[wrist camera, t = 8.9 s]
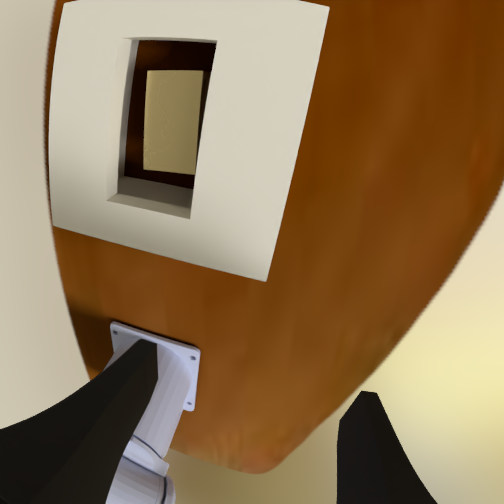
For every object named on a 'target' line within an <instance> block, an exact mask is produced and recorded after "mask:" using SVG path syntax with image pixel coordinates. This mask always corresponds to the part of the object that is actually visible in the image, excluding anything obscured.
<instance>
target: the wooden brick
mask: <svg viewBox="0 0 504 504" xmlns="http://www.w3.org/2000/svg"><path fill="white" fill-rule="evenodd" d="M210 77H211V72H207V71H192V70H159V71H148V72H147V86H146V101H145V122H144V169H146V170H156V171H166V172H175V173H184V174H192V175H196V167H197V160H198V153H199V146H200V139H201V132H202V125H203V119H204V113H205V107H206V101H207V95H208V89H209V83H210Z"/></svg>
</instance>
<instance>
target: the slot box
mask: <svg viewBox="0 0 504 504" xmlns="http://www.w3.org/2000/svg"><path fill="white" fill-rule="evenodd" d="M328 12H329V7H327V6H322V5H318V4H313V3H309V2H304V1H298V0H78V1H73V2H68V3H64V7H63V12H62V16H61V21H60V27H59V32H58V38H57V44H56V51H55V58H54V66H53V75H52V85H51V98H50V115H49V180H50V198H51V210H52V221H53V226H56V227H60V228H63V229H67V230H70V231H74V232H77V233H81V234H85V235H88V236H92V237H95V238H99V239H103V240H106V241H110V242H113V243H117V244H121V245H125V246H128V247H132V248H136V249H139V250H143V251H147V252H151V253H154V254H158V255H162V256H166V257H170V258H173V259H177V260H181V261H185V262H189V263H193V264H197V265H201V266H204V267H208V268H212V269H216V270H220V271H224V272H228V273H232V274H236V275H240V276H244V277H248V278H253V279H257V280H261V281H265V282H266V280H267V276H268V272H269V268H270V264H271V260H272V256H273V252H274V248H275V244H276V240H277V236H278V232H279V228H280V224H281V220H282V216H283V212H284V207H285V203H286V199H287V195H288V191H289V187H290V182H291V178H292V174H293V170H294V166H295V161H296V157H297V153H298V148H299V144H300V140H301V136H302V131H303V127H304V122H305V118H306V114H307V109H308V105H309V100H310V96H311V91H312V87H313V82H314V78H315V73H316V69H317V64H318V59H319V55H320V50H321V45H322V41H323V36H324V31H325V26H326V22H327V17H328ZM139 40H173V41H192V42H206V43H217V46H216V51H215V56H214V61H213V66H212V72H211V77H210V83H209V89H208V95H207V101H206V107H205V113H204V119H203V125H202V132H201V139H200V146H199V153H198V160H197V167H196V175H195V183H194V189H189V188H184V187H179V186H174V185H169V184H164V183H159V182H154V181H148V180H143V179H138V178H132V177H127V176H124V169H125V152H126V138H127V126H128V116H129V106H130V97H131V89H132V82H133V74H134V68H135V61H136V55H137V49H138V43H139Z"/></svg>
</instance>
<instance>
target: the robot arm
mask: <svg viewBox="0 0 504 504" xmlns="http://www.w3.org/2000/svg"><path fill="white" fill-rule="evenodd" d="M110 331H111V337H112V344H113V350H114V354H113V356H112V357H111V359H110V361H109V362H108V364H107V365H106V367H105V368H104V370H103V371H102V372H101V373H100V374H99V375H97V376H96V377H95V378H94V379H92V380H91V381H90V382H88V383H87V384H86V385H84V386H83V387H81V388H80V389H79V390H77V391H76V392H74V393H73V394H72V395H70V396H68V397H67V398H65V399H64V400H62V401H60V402H59V403H57V404H55V405H54V406H52V407H50V408H48V409H46V410H45V411H42V412H41V413H39V414H37V415H35V416H33V417H30V418H28V419H26V420H23V421H21V422H19V423H16V424H13V425H11V426H8V427H6V428H3V429H0V504H175V497H176V495H175V489H174V484H173V481H172V479H171V477H170V476H168V475H167V474H166V472H167V470H168V467H169V464H168V463H167V462H165V461H163V458H164V457H165V455H166V453H167V451H168V449H169V446H170V443H171V440H172V438H173V435H174V432H175V430H176V427H177V424H178V422H179V419H180V416H181V414H182V411H183V409H184V410H188V411H193V410H194V408H195V398H196V388H197V379H198V370H199V360H200V350H199V349H198V348H196V347H193V346H190V345H186V344H183V343H180V342H176V341H173V340H170V339H166V338H163V337H160V336H157V335H154V334H151V333H148V332H144V331H141V330H138V329H135V328H132V327H130V326H127V325H124V324H121V323H118V322H112V323H111V324H110ZM193 356H194V357H193ZM337 504H437V502H436V501H435V500H434V499H433V497H432V496H431V495H430V493H429V492H428V490H427V489H426V487H425V486H424V484H423V483H422V481H421V480H420V478H419V477H418V475H417V474H416V472H415V470H414V469H413V467H412V465H411V463H410V461H409V459H408V458H407V456H406V454H405V452H404V450H403V448H402V446H401V444H400V442H399V440H398V438H397V436H396V433H395V431H394V429H393V427H392V425H391V423H390V421H389V419H388V416H387V414H386V412H385V410H384V407H383V405H382V403H381V401H380V399H379V396H378V394H377V393H375V392H367V391H361V392H360V393H359V395H358V396H357V398H356V399H355V401H354V402H353V403H352V405H351V406H350V407H349V409H348V410H347V412H346V413H345V414H344V416H343V417H342V418H341V419H340V422H339V431H338V440H337Z"/></svg>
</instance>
